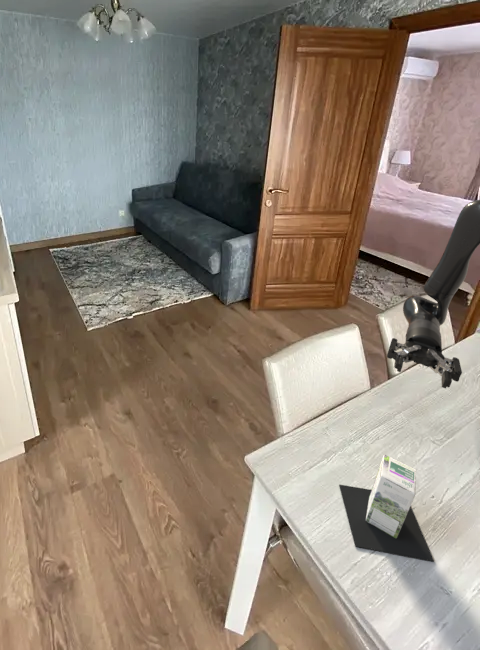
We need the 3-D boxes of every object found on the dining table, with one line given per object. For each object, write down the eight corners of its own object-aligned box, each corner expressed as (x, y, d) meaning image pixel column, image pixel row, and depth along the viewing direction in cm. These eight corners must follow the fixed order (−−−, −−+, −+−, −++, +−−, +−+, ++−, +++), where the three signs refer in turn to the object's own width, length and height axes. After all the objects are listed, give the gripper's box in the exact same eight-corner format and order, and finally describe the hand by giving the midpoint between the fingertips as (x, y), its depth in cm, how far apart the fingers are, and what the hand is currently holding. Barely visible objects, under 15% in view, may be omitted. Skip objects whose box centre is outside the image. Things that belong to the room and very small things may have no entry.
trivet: (405, 496, 76) (406, 495, 76) (433, 562, 65) (434, 561, 65) (339, 485, 78) (339, 484, 78) (355, 546, 67) (355, 546, 67)
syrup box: (398, 514, 73) (417, 467, 67) (396, 541, 68) (416, 493, 63) (368, 497, 76) (384, 451, 70) (364, 522, 71) (380, 475, 66)
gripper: (395, 318, 92) (389, 351, 79) (462, 337, 84) (467, 377, 72) (388, 341, 95) (381, 376, 82) (452, 361, 87) (456, 404, 75)
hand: (421, 376), depth 77 cm, fingers open, 8 cm apart
